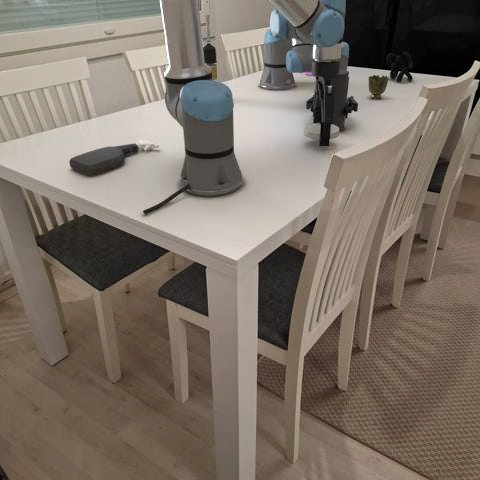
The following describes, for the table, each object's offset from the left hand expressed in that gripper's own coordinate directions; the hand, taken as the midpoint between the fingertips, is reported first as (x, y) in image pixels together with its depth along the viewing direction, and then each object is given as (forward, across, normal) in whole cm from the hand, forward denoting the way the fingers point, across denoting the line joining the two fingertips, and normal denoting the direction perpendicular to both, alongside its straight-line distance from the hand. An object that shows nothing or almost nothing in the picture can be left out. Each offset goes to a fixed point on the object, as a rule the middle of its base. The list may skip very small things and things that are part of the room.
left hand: (320, 139), depth 131 cm
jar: (+2, +15, -6) cm, 17 cm away
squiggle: (+2, +79, -51) cm, 95 cm away
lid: (-3, 0, 0) cm, 3 cm away
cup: (+2, +50, -32) cm, 59 cm away
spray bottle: (+1, -7, +58) cm, 59 cm away
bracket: (+2, +99, -18) cm, 100 cm away
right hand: (-4, +11, -5) cm, 13 cm away
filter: (+2, +56, +33) cm, 65 cm away
